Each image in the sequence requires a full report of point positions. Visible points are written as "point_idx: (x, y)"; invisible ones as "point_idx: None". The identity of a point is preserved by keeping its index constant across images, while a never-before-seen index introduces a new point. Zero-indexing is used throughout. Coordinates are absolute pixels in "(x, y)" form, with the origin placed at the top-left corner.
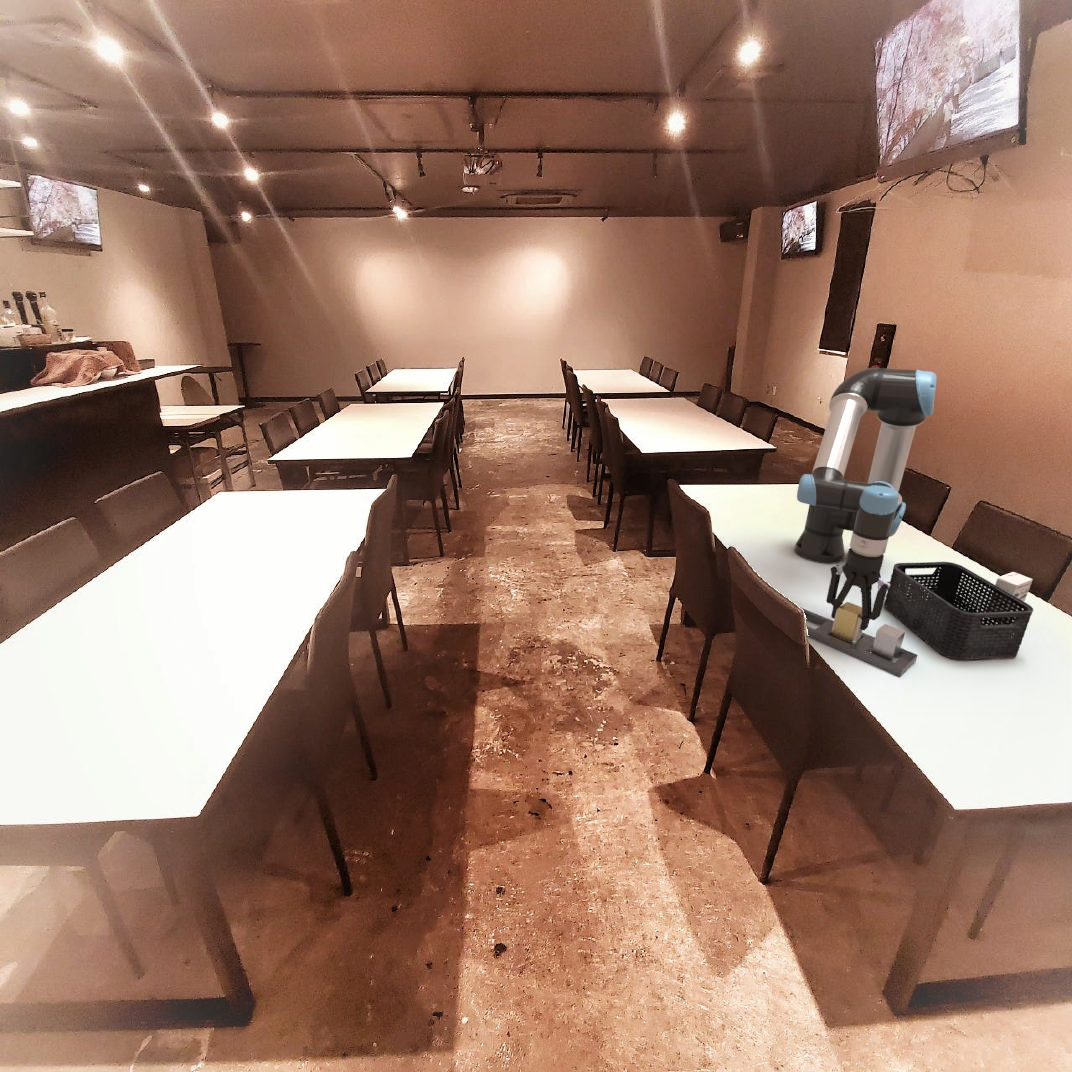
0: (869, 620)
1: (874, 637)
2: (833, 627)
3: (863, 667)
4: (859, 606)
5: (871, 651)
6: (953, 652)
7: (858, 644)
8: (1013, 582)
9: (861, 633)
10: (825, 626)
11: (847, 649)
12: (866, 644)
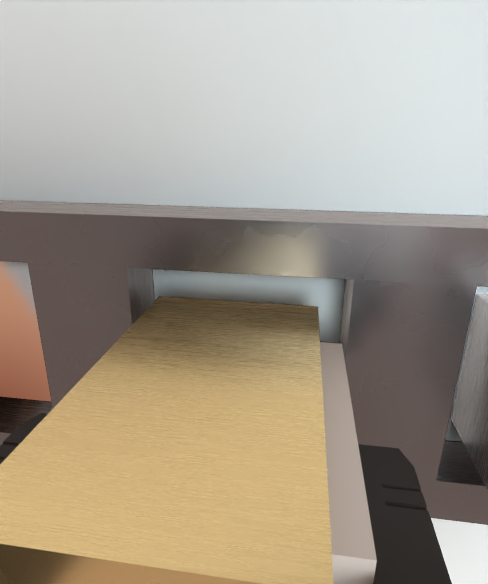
0: (442, 555)
1: (437, 228)
2: None
3: (446, 531)
4: (189, 576)
5: (472, 458)
6: None
7: (361, 435)
8: None
9: (345, 372)
10: (72, 352)
11: None
12: (412, 396)
